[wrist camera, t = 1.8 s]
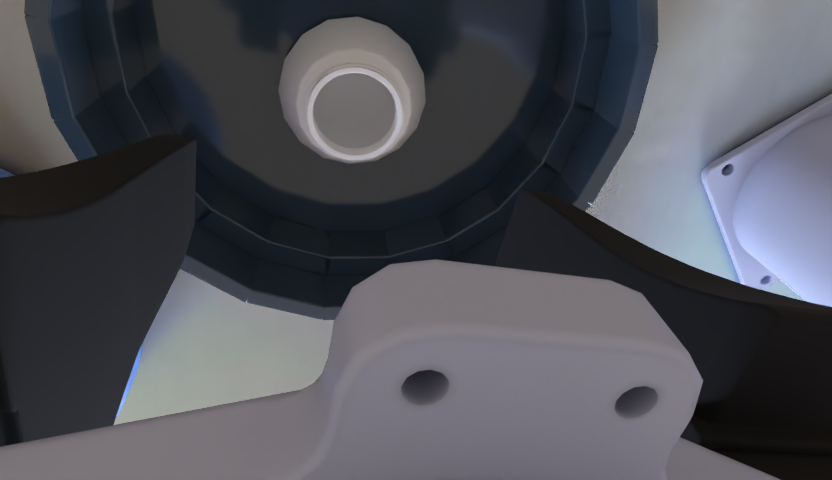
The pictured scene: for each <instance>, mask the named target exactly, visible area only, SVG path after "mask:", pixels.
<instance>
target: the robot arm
mask: <svg viewBox="0 0 832 480" xmlns="http://www.w3.org/2000/svg"><path fill="white" fill-rule="evenodd" d="M196 142H197V139H192V138H185V137H178V136H172V135H159V136H155V137H151V138H148V139H145V140H142V141H139V142H136V143H133V144H130V145H127V146H124V147H121V148H119V149H116V150H113V151H110V152H107V153H104V154H101V155H97V156H94V157H91V158H87V159H84V160H80V161H77V162H74V163H70V164H67V165H63V166H59V167H55V168H51V169H46V170H42V171H37V172H31V173H26V174H21V175H15V176H9V177H3V178H0V480H832V94H830V95H828V96H827V97H825V98H823V99H821V100H820V101H818V102H816V103H814V104H813V105H811V106H809V107H807V108H806V109H804V110H802V111H800V112H799V113H797V114H795V115H793V116H792V117H790V118H788V119H786V120H785V121H783V122H781V123H779V124H778V125H776V126H774V127H772V128H771V129H769V130H767V131H765V132H764V133H762V134H760V135H759V136H757V137H755V138H753V139H752V140H750V141H748V142H746V143H745V144H743V145H741V146H739V147H738V148H736V149H734V150H732V151H731V152H729V153H727V154H725V155H724V156H722V157H720V158H718V159H717V160H715V161H713V162H711V163H710V164H708V165H707V166H706V167H705V168H704V169H703V170H702V173H701V180H702V183H703V185H704V188H705V191H706V193H707V196H708V198H709V201H710V204H711V206H712V209H713V212H714V214H715V217H716V220H717V222H718V225H719V228H720V230H721V233H722V235H723V238H724V241H725V243H726V246H727V249H728V251H729V254H730V257H731V259H732V262H733V264H734V267H735V270H736V272H737V275H738V278H739V280H740V283H741V284H740V283H737V282H734V281H731V280H728V279H725V278H722V277H719V276H717V275H714V274H711V273H708V272H705V271H703V270H700V269H697V268H695V267H692V266H690V265H687V264H685V263H683V262H681V261H678V260H676V259H674V258H671V257H669V256H667V255H664V254H662V253H660V252H658V251H656V250H654V249H652V248H650V247H648V246H646V245H644V244H642V243H640V242H638V241H636V240H634V239H632V238H630V237H629V236H627V235H625V234H623V233H621V232H619V231H618V230H616V229H614V228H612V227H611V226H609V225H607V224H605V223H604V222H602V221H600V220H598V219H597V218H595V217H593V216H592V215H590V214H588V213H586V212H585V211H583V210H581V209H579V208H578V207H576V206H574V205H572V204H571V203H569V202H567V201H565V200H563V199H561V198H559V197H557V196H555V195H552V194H549V193H546V192H542V191H535V190H528V189H522V188H520V191H519V194H518V197H517V200H516V203H515V206H514V209H513V212H512V215H511V218H510V221H509V224H508V227H507V230H506V233H505V236H504V239H503V242H502V245H501V248H500V251H499V254H498V257H497V260H496V265H497V267H496V266H487V265H479V264H470V263H462V262H454V261H445V260H437V259H434V260H425V261H415V262H406V263H397V264H389V265H388V266H386V267H385V268H383V269H381V270H380V271H378V272H377V273H375V274H373V275H372V276H370V277H368V278H367V279H365V280H364V281H362V282H360V283H359V284H357V285H355V286H354V287H352V289H351V291H350V293H349V295H348V297H347V298H346V300H345V302H344V304H343V306H342V308H341V310H340V311H339V313H338V315H337V317H336V319H335V321H334V326H333V332H332V337H331V343H330V348H329V354H328V359H327V361H326V364H325V367H324V370H323V372H322V374H321V375H320V377H319V378H318V379H317V380H316V382H315V383H313V384H312V385H310V386H308V387H306V388H304V389H302V390H297V391H292V392H287V393H281V394H276V395H271V396H265V397H260V398H255V399H250V400H244V401H239V402H234V403H229V404H223V405H218V406H213V407H207V408H202V409H197V410H192V411H186V412H181V413H176V414H170V415H165V416H160V417H155V418H149V419H144V420H139V421H133V422H128V423H123V424H118V425H113V424H114V421H115V418H116V415H117V412H118V409H119V406H120V403H121V400H122V397H123V394H124V391H125V388H126V386H127V383H128V380H129V377H130V374H131V371H132V369H133V366H134V363H135V360H136V357H137V355H138V352H139V350H140V348H141V345H142V343H143V341H144V338H145V336H146V334H147V332H148V330H149V328H150V326H151V324H152V322H153V320H154V318H155V316H156V314H157V312H158V311H159V309H160V307H161V305H162V303H163V301H164V299H165V297H166V295H167V293H168V291H169V289H170V287H171V285H172V283H173V281H174V279H175V277H176V275H177V273H178V271H179V269H180V267H181V265H182V263H183V260H184V257H185V254H186V251H187V248H188V245H189V242H190V238H191V235H192V232H193V228H194V221H195V182H196ZM726 165H728V167H727V169H726V170H725V171H722V169H723V167H725V166H726ZM764 276H765V277H764ZM763 277H764V278H763ZM762 278H763V279H762ZM779 280H781V281H782V282H784V283H785V284H786V285H787V286H788V287H790V288H791V289H792V290H793V291H794V292H796V293H797V294H798V295H799V296H800V297H801V298H803V299H804V300H805V301H801V300H797V299H793V298H789V297H785V296H782V295H778V294H774V293H771V292H767V291H763V290H762V289H764V288H765V287H767V286H769V285H771V284H773V283H775V282H777V281H779Z"/></svg>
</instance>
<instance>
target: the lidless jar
mask: <svg viewBox="0 0 832 480" xmlns="http://www.w3.org/2000/svg"><path fill="white" fill-rule="evenodd" d="M278 91H279V96H280V101H281V105H282V110H283V115H284V119H285V120H286V122H287V123H288V125H289V126H290V128H291V129H292V130H293V132H294V133H295V135H296V136H297V138H298V139H299V141H300V142H301V143H303V144H304V145H306V146H307V147H309V148H310V149H311V150H313V151H314V152H316V153H317V154H319V155H320V156H321V157H323V158H327V159H331V160H335V161H339V162H343V163H347V164H353V163H362V162H370V161H377V160H378V159H380V158H382V157H384V156H386V155H388V154H390V153H392V152H394V151H395V150H397V149H399V148H400V147H401V146H402V145H403V144H404V143H405V141H406V140H407V139H408V138H409V137H410V135H411V134H412V133H413V132H414V131H415V130H416V128H417V126H418V123H419V120H420V117H421V114H422V111H423V108H424V105H425V102H426V99H425V84H424V73H423V71H422V69H421V67H420V65H419V63H418V61H417V59H416V57H415V55H414V53H413V51H412V49H411V47H410V45H409V44H408V43H406V42H405V41H404V40H403V39H402V38H401V37H399V36H398V35H397V34H396V33H395V32H394V31H393V30H391V29H390V28H389V27H388V26H386V25H383V24H380V23H377V22H374V21H371V20H368V19H364V18H361V17H348V18H338V19H329V20H326V21H325V22H323V23H321V24H320V25H318V26H316V27H314V28H313V29H311V30H309V31H307V32H306V33H304V34H302V35H301V37H300V38H299V40H298V41H297V42H296V44H295V45H294V47H293V48H292V49H291V51H290V52H289V54H288V55H287V56H286V58H285V60H284V64H283V69H282V74H281V79H280V83H279V88H278Z"/></svg>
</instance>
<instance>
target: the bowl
mask: <svg viewBox="0 0 832 480" xmlns="http://www.w3.org/2000/svg"><path fill="white" fill-rule="evenodd" d="M24 13H25V20H26V24H27V27H28V31H29V35H30V39H31V42H32V46H33V50H34V53H35V57H36V61H37V65H38V68H39V72H40V76H41V80H42V83H43V87H44V91H45V94H46V98H47V102H48V106H49V109H50V113H51V117H52V119H54V123H55V124H56V126H57V127H58V129H59V131H60V132H61V134H62V135H63V137H64V139H65V140H66V142H67V144H68V145H69V147H70V148H71V150H72V152H73V153H74V155H75V156H76V158H77V160H78V161H80V160H84V159H87V158H91V157H94V156H97V155H101V154H104V153H107V152H110V151H113V150H116V149H119V148H121V147H124V146H127V145H130V144H133V143H136V142H139V141H142V140H145V139H148V138H151V137H155V136H159V135H172V136H178V137H185V138H192V139H197V142H196V182H195V221H194V228H193V232H192V235H191V238H190V242H189V245H188V248H187V251H186V254H185V257H184V260H183V263H182V265H181V267H180V269H181V270H183V271H185V272H187V273H189V274H191V275H193V276H195V277H197V278H199V279H201V280H203V281H205V282H207V283H209V284H211V285H213V286H214V287H216V288H218V289H220V290H222V291H224V292H226V293H228V294H230V295H232V296H234V297H236V298H238V299H240V300H242V301H244V302H246V301H247V303H251V304H255V305H260V306H264V307H268V308H273V309H277V310H282V311H286V312H290V313H295V314H299V315H303V316H308V317H312V318H317V319H323V320H335V319H336V317H337V315H338V313H339V311H340V310H341V308H342V306H343V304H344V302H345V300H346V298H347V297H348V295H349V293H350V291H351V289H352V287H354V286H355V285H357V284H359V283H360V282H362V281H364V280H365V279H367V278H368V277H370V276H372V275H373V274H375V273H377V272H378V271H380V270H381V269H383V268H385V267H386V266H388V265H389V264H397V263H406V262H415V261H425V260H434V259H437V260H445V261H454V262H462V263H470V264H479V265H487V266H496V267H497V265H496V260H497V257H498V254H499V251H500V248H501V245H502V242H503V239H504V236H505V233H506V230H507V227H508V224H509V221H510V218H511V215H512V212H513V209H514V206H515V203H516V200H517V197H518V194H519V191H520V188H522V189H528V190H535V191H542V192H546V193H549V194H552V195H555V196H557V197H559V198H561V199H563V200H565V201H567V202H569V203H571V204H572V205H574V206H576V207H578V208H579V209H581V210H583V211H586V210H587V209H588V208H589V207H590V204H591V205H592V204H593V202H594V200H595V199H596V197H597V195H598V194H599V192H600V190H601V188H602V187H603V185H604V183H605V182H606V180H607V178H608V177H609V175H610V173H611V172H612V170H613V168H614V167H615V165H616V163H617V161H618V160H619V158H620V156H621V155H622V153H623V151H624V150H625V148H626V146H627V145H628V143H629V141H630V140H631V138H632V136H633V135H634V131H635V128H636V125H637V121H638V117H639V113H640V110H641V106H642V102H643V99H644V95H645V91H646V88H647V84H648V80H649V76H650V73H651V69H652V65H653V62H654V58H655V54H656V51H657V47H658V45H657V43H658V4H657V0H25V12H24ZM348 17H361V18H364V19H368V20H371V21H374V22H377V23H380V24H383V25H386V26H388V27H389V28H390V29H391V30H393V31H394V32H395V33H396V34H397V35H398V36H399V37H401V38H402V39H403V40H404V41H405V42H406V43H408V44H409V45H410V47H411V49H412V51H413V53H414V55H415V57H416V59H417V61H418V63H419V65H420V67H421V69H422V71H423V73H424V84H425V99H426V102H425V105H424V108H423V111H422V114H421V117H420V120H419V123H418V126H417V128H416V130H415V131H414V132H413V133H412V134H411V135H410V137H409V138H408V139H407V140H406V141H405V143H404V144H403V145H402V146H401V147H400V148H399V149H397V150H395V151H394V152H392V153H390V154H388V155H386V156H384V157H382V158H380V159H378V160H377V161H370V162H362V163H353V164H347V163H343V162H339V161H335V160H331V159H327V158H323V157H321V156H320V155H319V154H317V153H316V152H314V151H313V150H311V149H310V148H309V147H307V146H306V145H304V144H303V143H301V142H300V141H299V139H298V138H297V136H296V135H295V133H294V132H293V130H292V129H291V128H290V126H289V125H288V123H287V122H286V120H285V119H284V115H283V110H282V105H281V101H280V96H279V91H278V88H279V83H280V79H281V74H282V69H283V64H284V60H285V58H286V56H287V55H288V54H289V52H290V51H291V49H292V48H293V47H294V45H295V44H296V42H297V41H298V40H299V38H300V37H301V35H302V34H304V33H306V32H307V31H309V30H311V29H313V28H314V27H316V26H318V25H320V24H321V23H323V22H325V21H326V20H329V19H338V18H348Z"/></svg>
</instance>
